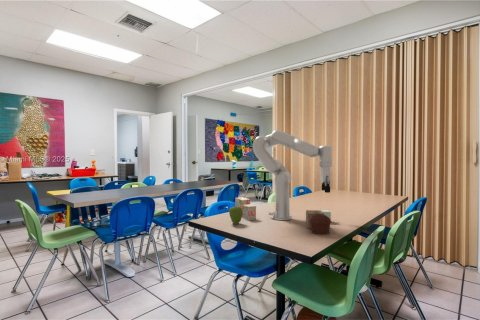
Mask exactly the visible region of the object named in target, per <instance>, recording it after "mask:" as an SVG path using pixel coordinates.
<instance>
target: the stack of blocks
mask: <svg viewBox="0 0 480 320" xmlns="http://www.w3.org/2000/svg"><path fill="white" fill-rule="evenodd" d="M234 204H235V206H237V207H241V208H242V210H243V214H242V218H243V219H245V220H247V221H254V220H256V218H257V205H254V204H252V203H251V199H249V198H247V197H241V196H239V197H235V203H234ZM235 206H234V207H235Z"/></svg>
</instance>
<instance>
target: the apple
mask: <svg viewBox="0 0 480 320" xmlns="http://www.w3.org/2000/svg"><path fill="white" fill-rule="evenodd" d="M228 213H229V218H230V221H231V222H232V224H234V225H238V224H240V222H241V220H242V218H243V217H242V214H243V210H242V208H241V207H237V206H231V207H230V208H229V209H228Z"/></svg>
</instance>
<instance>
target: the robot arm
mask: <svg viewBox="0 0 480 320" xmlns="http://www.w3.org/2000/svg"><path fill="white" fill-rule="evenodd" d="M277 145H281V146H283V147H286V148H288V149H290V150H293V151H296V152H297V153H300V154H303V155H305V156H307V157H310V158H316V157H318V158H319V160H318V161H319V164H318V165H319V169H320V172H319V182H320V183H321V191H324V193H326V194H327V193H328V194H329V193H331V181H332V180H331V178H332V176H331V168H332V167H333V166H332V165H333V164H332V163H333V161H332V159H333V157H332V156H333V154H332V153H333V152H332V151H333V149H332V146H331V145H320V146H319V145H314V144H311V143H309V142H307V141H305V140H301V139H300V138H298V137H296V136H295V135H292V134H289V133H287V132H285V131H282V130H278V129H276V130H275V129H274V130H273V131H272V133H271V134H268V135H266V136H264V135H258V136H256V138H254V139H253V143H252V151H253V154H254V155H255V157H256V159H258V161H259V162H260V163H261V165H262V166H263V167H264V169H265V170H266V171H267V172H268V173H270V174H273V175H274V176H275V177H274V192H275V193H274V194H275V196H274V198H275V199H274V203H275V206H274V207H275V209H274V211H270V212H269V211H268V215H269V216H273V217H272V219H274V220H276V221H290V220H292V219H293V216H292V215H290V214H291V213H290V211H291V210H290V182H291V181H292V175H291V173H290V171H288V169H287V167H285V166H284V164H283V163H282V162H281V161H280V160H278V159H275V158H274V157H273V156H272V154H271V153H270V152H269V151H268V150H267V149H268V148H271V147H273V146H277Z"/></svg>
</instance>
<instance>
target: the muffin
mask: <svg viewBox="0 0 480 320" xmlns="http://www.w3.org/2000/svg"><path fill="white" fill-rule="evenodd" d="M310 222H311V228H312V229H311V232H312V234H314V235H318V236H319V235H320V236H325V235H326V236H327V235H329V234H330V228H331V223H332V222H333V221H332V219H331V220H330V218H329V217H327V216H326V215H323V214H316V215H314V216H312V217H311V219H310Z"/></svg>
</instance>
